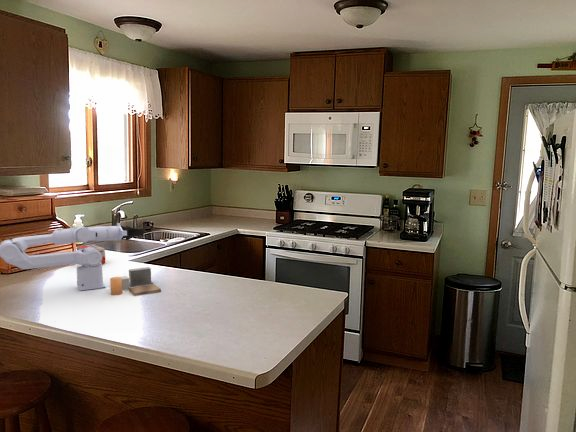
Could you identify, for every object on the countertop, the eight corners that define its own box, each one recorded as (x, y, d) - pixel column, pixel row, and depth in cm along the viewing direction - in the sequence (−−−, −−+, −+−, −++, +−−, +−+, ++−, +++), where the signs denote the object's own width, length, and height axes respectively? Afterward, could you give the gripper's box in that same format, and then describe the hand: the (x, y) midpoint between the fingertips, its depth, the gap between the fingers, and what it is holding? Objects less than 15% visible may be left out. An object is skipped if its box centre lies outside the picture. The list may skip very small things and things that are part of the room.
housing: (130, 287, 189) (129, 271, 189) (127, 284, 193) (127, 269, 192) (153, 283, 194) (152, 268, 193) (150, 281, 198) (149, 266, 197)
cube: (118, 291, 184) (118, 279, 183) (116, 288, 187) (116, 277, 187) (129, 289, 186) (129, 278, 185) (127, 287, 189) (126, 276, 189)
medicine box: (106, 264, 232) (105, 247, 231) (89, 266, 226) (88, 250, 225) (93, 259, 242) (92, 244, 241) (76, 262, 237) (75, 246, 236)
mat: (134, 295, 177) (133, 293, 177) (128, 290, 185) (128, 287, 185) (160, 291, 182) (160, 289, 182) (154, 286, 190) (154, 284, 190)
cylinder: (112, 295, 178) (111, 280, 177) (110, 293, 181) (109, 277, 180) (123, 294, 180) (122, 278, 179) (121, 291, 183) (120, 276, 182)
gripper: (110, 223, 185) (145, 222, 192) (102, 223, 197) (136, 222, 204) (110, 241, 184) (145, 240, 192) (103, 240, 197) (136, 239, 204)
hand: (140, 232), depth 198 cm, fingers open, 7 cm apart
